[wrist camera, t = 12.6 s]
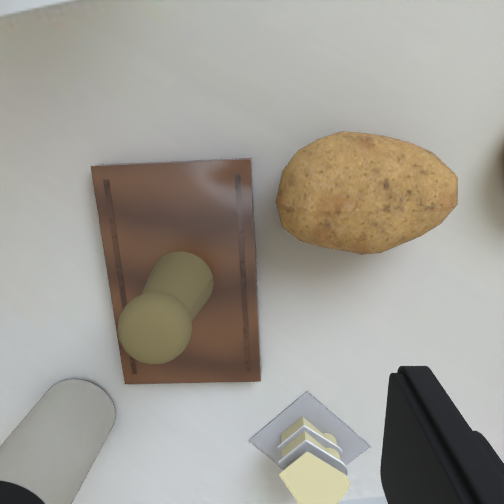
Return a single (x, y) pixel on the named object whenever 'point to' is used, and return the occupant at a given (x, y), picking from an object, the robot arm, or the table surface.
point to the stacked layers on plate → (311, 451)
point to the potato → (364, 192)
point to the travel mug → (55, 445)
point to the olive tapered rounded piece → (165, 308)
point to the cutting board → (192, 241)
